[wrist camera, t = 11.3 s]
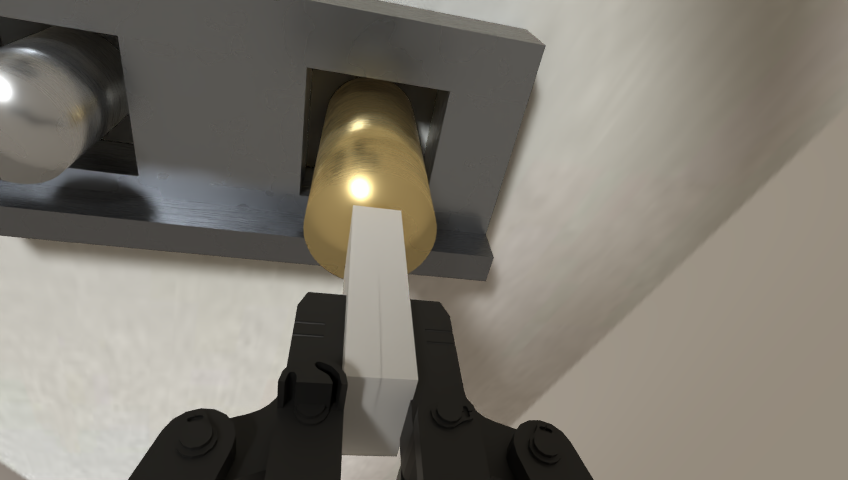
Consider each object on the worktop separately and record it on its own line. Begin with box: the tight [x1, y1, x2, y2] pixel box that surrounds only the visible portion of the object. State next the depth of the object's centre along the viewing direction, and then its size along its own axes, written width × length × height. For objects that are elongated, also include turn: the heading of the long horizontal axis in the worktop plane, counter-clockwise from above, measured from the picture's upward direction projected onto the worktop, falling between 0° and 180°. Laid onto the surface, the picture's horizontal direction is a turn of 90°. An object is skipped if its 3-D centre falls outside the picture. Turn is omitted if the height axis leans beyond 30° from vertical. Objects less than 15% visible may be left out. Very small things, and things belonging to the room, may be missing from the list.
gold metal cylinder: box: [303, 77, 437, 279], centre depth 20 cm, size 4×4×10 cm
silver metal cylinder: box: [0, 26, 129, 184], centre depth 19 cm, size 4×4×6 cm
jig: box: [0, 0, 546, 281], centre depth 21 cm, size 11×26×5 cm, turn 79°
